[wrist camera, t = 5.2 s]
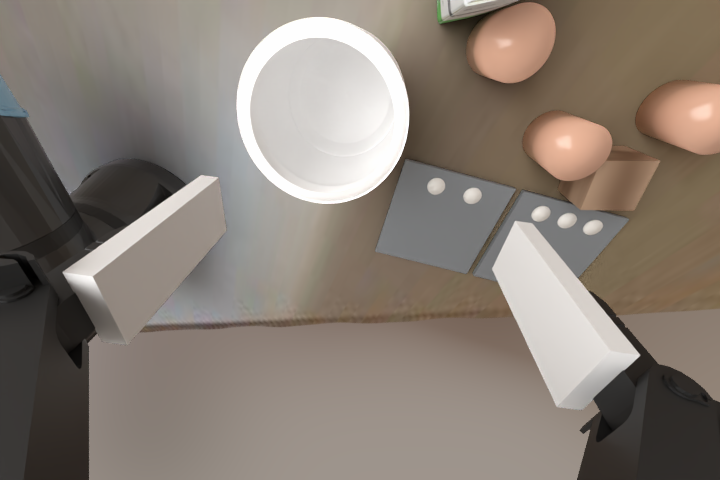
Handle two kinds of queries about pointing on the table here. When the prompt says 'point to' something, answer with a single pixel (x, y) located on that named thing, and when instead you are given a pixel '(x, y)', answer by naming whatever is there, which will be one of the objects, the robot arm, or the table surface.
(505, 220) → the pad three
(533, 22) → the tan rounded block
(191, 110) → the table surface
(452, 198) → the pad two
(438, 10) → the ink box
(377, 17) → the table surface
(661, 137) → the pink rounded piece
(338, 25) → the jar
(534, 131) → the pink rounded piece
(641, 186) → the walnut block
